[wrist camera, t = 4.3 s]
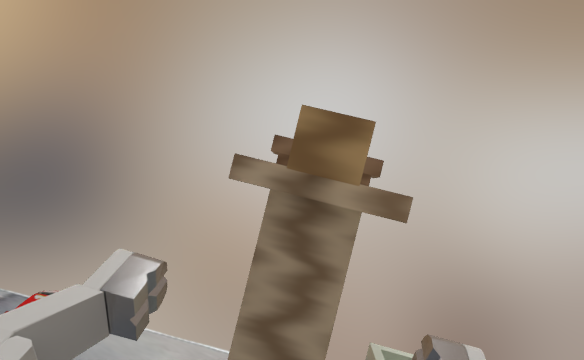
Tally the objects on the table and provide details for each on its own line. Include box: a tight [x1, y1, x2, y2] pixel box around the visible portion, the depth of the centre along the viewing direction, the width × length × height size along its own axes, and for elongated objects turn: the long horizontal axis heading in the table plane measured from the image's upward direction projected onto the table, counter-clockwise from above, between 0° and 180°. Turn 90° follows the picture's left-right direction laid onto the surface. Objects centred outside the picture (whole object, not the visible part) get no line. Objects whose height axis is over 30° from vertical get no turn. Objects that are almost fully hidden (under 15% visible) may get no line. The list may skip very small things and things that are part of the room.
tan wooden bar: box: [287, 105, 376, 186], centre depth 27 cm, size 4×17×4 cm, turn 176°
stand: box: [228, 135, 413, 360], centre depth 32 cm, size 14×12×29 cm
